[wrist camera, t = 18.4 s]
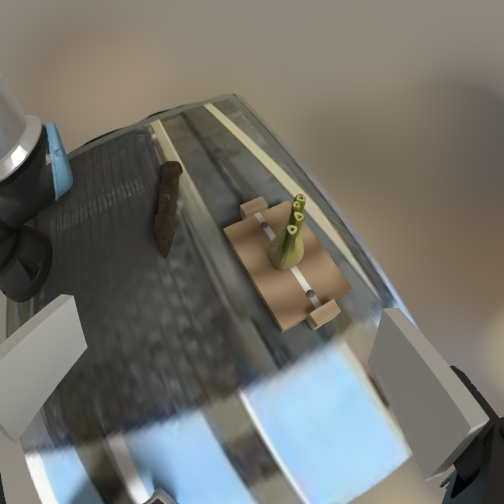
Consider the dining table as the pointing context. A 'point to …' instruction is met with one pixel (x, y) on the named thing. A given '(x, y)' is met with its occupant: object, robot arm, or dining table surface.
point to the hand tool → (167, 205)
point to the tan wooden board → (289, 281)
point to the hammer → (160, 498)
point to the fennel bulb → (289, 239)
